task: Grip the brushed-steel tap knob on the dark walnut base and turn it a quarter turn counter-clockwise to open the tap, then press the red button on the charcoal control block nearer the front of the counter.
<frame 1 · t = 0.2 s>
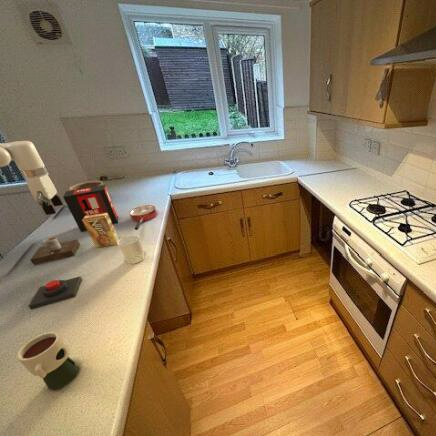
hand: (55, 209, 107), 18 cm above the worktop, tool pointing down, fingers open, 9 cm apart
frying pan: (145, 224, 132), on the worktop
button: (53, 285, 85), point 4 cm above the worktop, slide at 0.1 cm
candy box: (108, 244, 115), on the worktop
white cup: (136, 259, 104), on the worktop
cooking pot: (94, 202, 159), on the worktop
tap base: (58, 254, 108), on the worktop
button block: (58, 293, 87), on the worktop
tap knob: (52, 243, 105), point 6 cm above the worktop, hinge at 0.0°
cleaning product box: (100, 224, 133), on the worktop
character mug: (65, 377, 61), on the worktop
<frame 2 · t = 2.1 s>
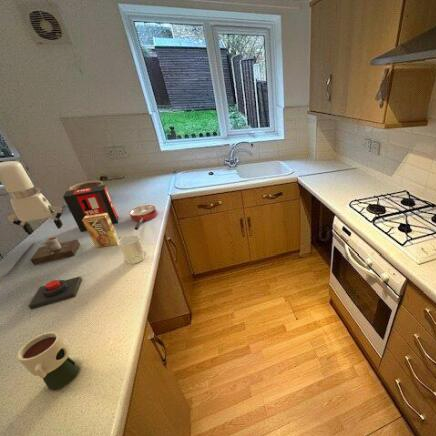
hand: (46, 230, 103), 12 cm above the worktop, tool pointing down, fingers open, 9 cm apart
nothing on the worktop moved.
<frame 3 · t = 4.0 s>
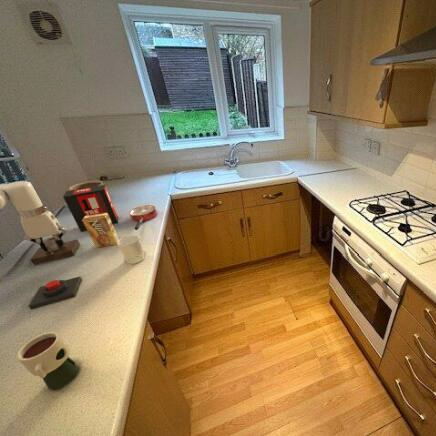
hand: (54, 247, 106), 4 cm above the worktop, tool pointing down, fingers closed on tap knob, 4 cm apart
tap knob: (52, 243, 105), point 6 cm above the worktop, hinge at -0.1°, touching gripper
everything else where it was.
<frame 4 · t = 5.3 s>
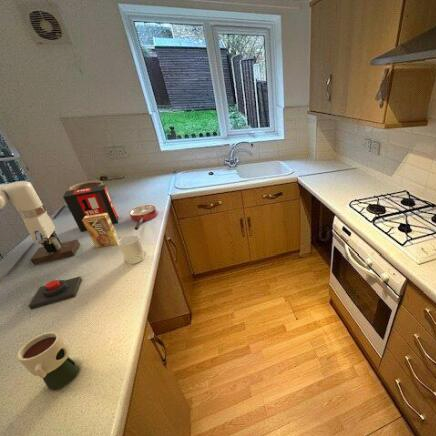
hand: (54, 247, 106), 4 cm above the worktop, tool pointing down, fingers closed on tap knob, 4 cm apart
tap knob: (52, 243, 105), point 6 cm above the worktop, hinge at 90.5°, touching gripper
everything else where it was.
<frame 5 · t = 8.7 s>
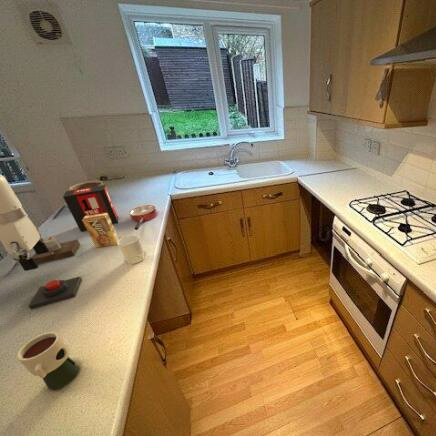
hand: (38, 260, 80), 15 cm above the worktop, tool pointing down, fingers open, 9 cm apart
tap knob: (52, 243, 105), point 6 cm above the worktop, hinge at 91.3°
everything else where it was.
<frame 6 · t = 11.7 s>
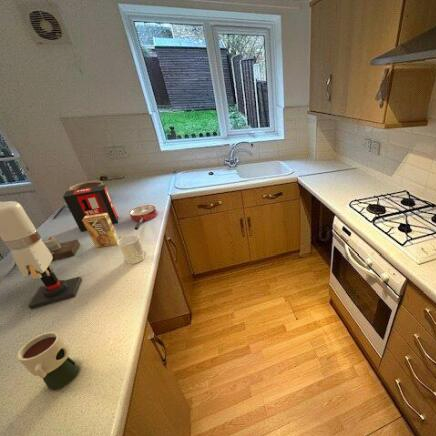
hand: (52, 283, 84), 5 cm above the worktop, tool pointing down, fingers closed
button: (53, 285, 85), point 4 cm above the worktop, slide at 0.1 cm, touching gripper
everything else where it was.
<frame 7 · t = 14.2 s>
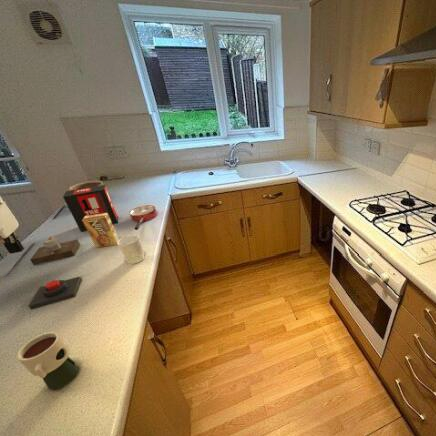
hand: (17, 251, 82), 16 cm above the worktop, tool pointing down, fingers closed
button: (53, 285, 85), point 4 cm above the worktop, slide at 0.1 cm
everything else where it was.
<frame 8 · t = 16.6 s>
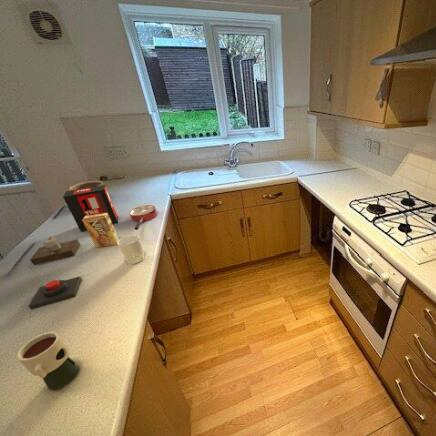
nothing on the worktop moved.
at the end: tap knob at +91° (first picture: +0°); button pushed in 1.1 cm at the most during the clip, back to where it started at the end; button slide at 0.1 cm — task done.
